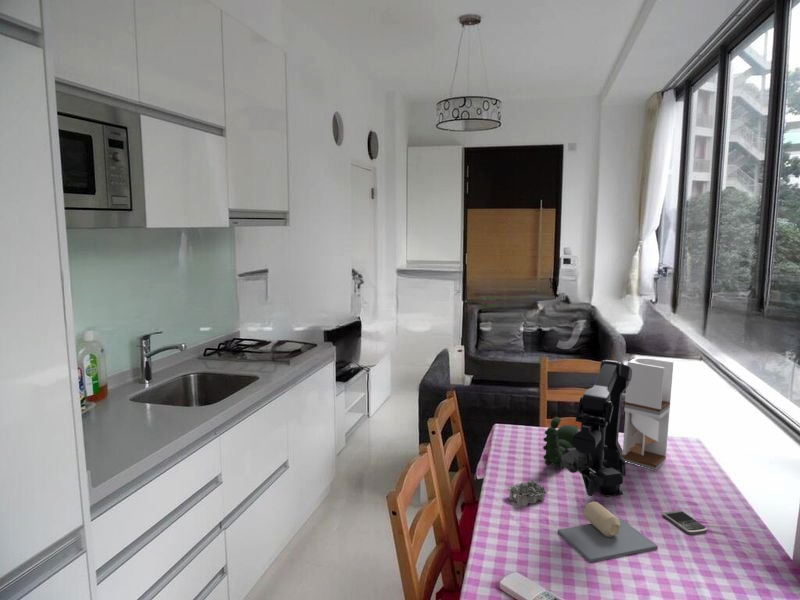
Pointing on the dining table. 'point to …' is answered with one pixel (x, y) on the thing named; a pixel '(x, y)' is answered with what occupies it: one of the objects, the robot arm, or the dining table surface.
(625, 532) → the rubber mat
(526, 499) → the grey jagged ring-shaped piece
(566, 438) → the toy figurine
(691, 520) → the cell phone
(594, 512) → the candle
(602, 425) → the robot arm
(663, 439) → the display case
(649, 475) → the dining table surface
